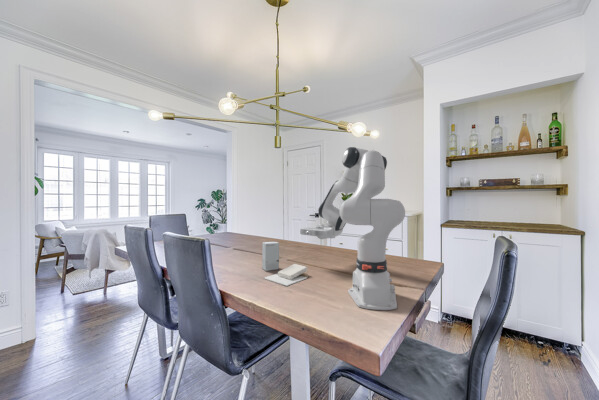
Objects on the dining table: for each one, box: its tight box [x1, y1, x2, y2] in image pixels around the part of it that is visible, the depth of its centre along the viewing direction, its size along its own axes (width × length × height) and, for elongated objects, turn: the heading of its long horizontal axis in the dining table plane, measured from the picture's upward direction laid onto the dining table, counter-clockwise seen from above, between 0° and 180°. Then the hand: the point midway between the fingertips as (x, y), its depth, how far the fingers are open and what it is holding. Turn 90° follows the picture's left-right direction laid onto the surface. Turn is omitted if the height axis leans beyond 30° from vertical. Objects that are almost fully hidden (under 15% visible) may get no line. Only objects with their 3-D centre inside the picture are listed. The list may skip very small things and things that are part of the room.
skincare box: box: [261, 241, 280, 272], centre depth 139 cm, size 8×6×15 cm
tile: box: [277, 263, 308, 280], centre depth 126 cm, size 2×9×12 cm
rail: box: [299, 272, 309, 278], centre depth 128 cm, size 2×14×2 cm, turn 47°
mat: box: [263, 272, 308, 287], centre depth 122 cm, size 14×16×1 cm
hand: (307, 233), depth 134 cm, fingers closed
